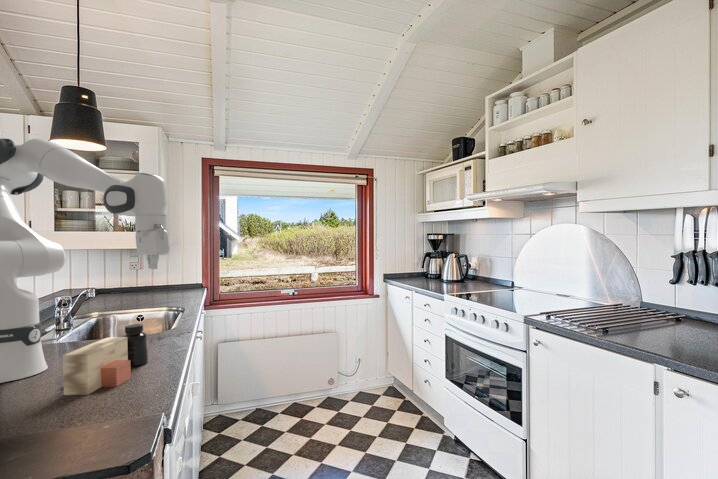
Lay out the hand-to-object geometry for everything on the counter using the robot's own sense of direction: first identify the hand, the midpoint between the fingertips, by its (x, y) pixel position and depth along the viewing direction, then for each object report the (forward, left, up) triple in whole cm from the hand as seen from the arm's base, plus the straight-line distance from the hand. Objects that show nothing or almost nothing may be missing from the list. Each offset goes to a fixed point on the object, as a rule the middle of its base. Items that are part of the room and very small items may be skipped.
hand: (152, 269), depth 114 cm
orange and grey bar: (-7, -16, -29) cm, 34 cm away
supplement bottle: (-5, -2, -29) cm, 30 cm away
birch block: (-7, -16, -29) cm, 34 cm away
